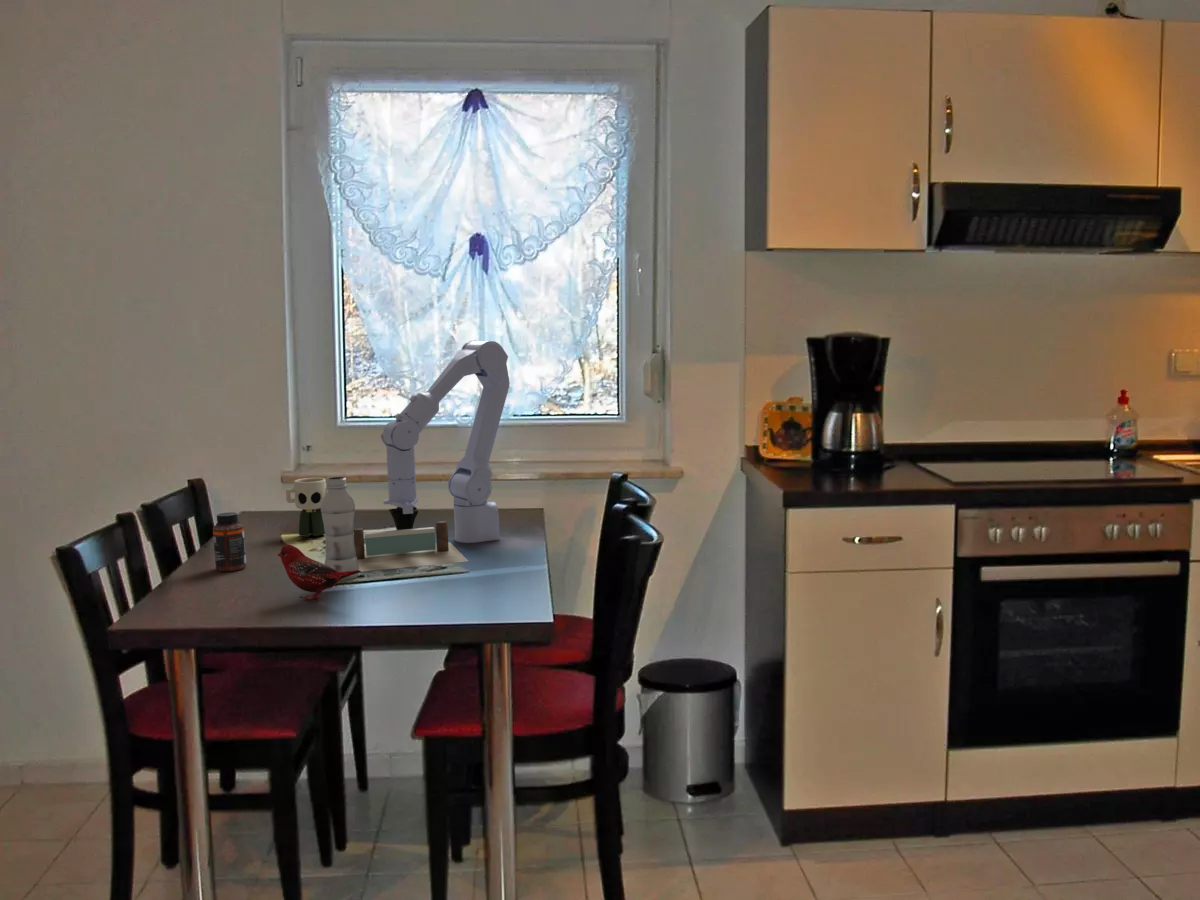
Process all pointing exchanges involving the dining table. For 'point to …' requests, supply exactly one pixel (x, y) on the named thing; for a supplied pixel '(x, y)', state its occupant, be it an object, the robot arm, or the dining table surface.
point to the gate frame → (409, 553)
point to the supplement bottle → (229, 543)
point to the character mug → (309, 504)
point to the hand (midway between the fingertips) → (404, 542)
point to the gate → (400, 541)
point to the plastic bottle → (339, 527)
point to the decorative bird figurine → (309, 572)
